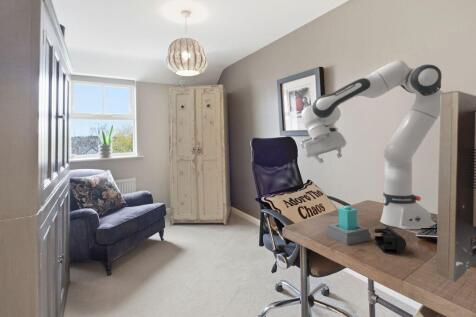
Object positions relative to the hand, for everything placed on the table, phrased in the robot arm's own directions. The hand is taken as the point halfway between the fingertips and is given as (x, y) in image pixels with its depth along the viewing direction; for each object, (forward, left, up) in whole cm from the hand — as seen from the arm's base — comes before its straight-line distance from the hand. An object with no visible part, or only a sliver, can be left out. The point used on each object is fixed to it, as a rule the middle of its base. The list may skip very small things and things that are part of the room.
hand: (331, 159), depth 124 cm
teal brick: (-3, +17, -28) cm, 33 cm away
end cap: (-16, +27, -31) cm, 44 cm away
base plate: (-3, +18, -31) cm, 36 cm away
